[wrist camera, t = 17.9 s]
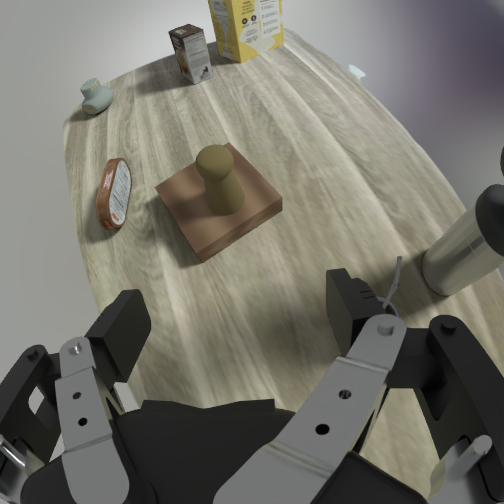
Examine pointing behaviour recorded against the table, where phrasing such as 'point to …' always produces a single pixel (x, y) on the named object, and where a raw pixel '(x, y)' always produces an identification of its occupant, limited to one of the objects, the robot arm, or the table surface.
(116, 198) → the tin
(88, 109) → the air freshener
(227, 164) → the cork
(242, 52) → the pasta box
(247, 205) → the walnut base block
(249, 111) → the table surface
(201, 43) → the brown snack box
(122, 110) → the table surface
